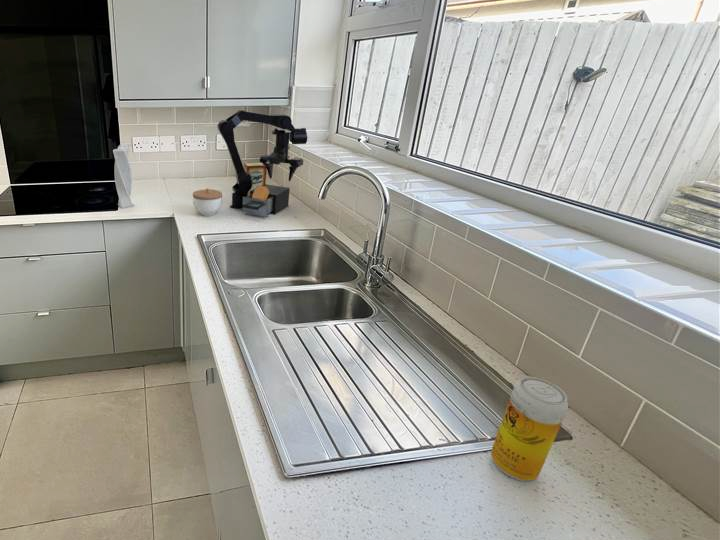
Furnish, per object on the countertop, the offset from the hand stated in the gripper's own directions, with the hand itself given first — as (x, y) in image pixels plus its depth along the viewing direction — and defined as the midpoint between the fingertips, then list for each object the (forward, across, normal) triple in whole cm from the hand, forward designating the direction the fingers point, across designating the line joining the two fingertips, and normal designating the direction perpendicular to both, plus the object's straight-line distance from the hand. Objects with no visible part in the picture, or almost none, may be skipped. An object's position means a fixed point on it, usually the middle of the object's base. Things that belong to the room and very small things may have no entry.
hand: (280, 179), depth 182 cm
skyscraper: (+12, -59, -40) cm, 72 cm away
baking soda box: (+12, -17, +8) cm, 23 cm away
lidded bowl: (+12, -21, -28) cm, 37 cm away
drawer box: (+12, -2, -6) cm, 13 cm away
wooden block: (+5, -2, -14) cm, 15 cm away
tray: (+11, -2, -16) cm, 19 cm away
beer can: (+12, +88, -103) cm, 136 cm away
